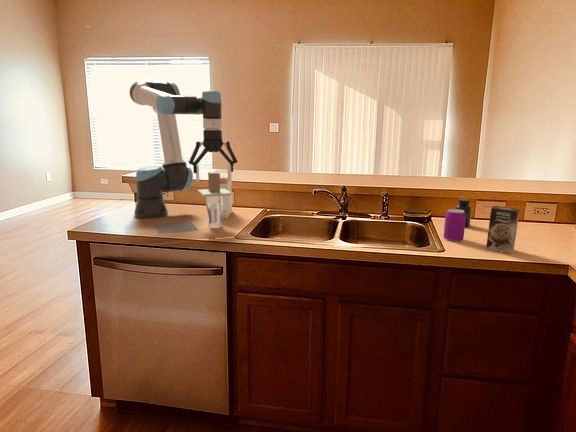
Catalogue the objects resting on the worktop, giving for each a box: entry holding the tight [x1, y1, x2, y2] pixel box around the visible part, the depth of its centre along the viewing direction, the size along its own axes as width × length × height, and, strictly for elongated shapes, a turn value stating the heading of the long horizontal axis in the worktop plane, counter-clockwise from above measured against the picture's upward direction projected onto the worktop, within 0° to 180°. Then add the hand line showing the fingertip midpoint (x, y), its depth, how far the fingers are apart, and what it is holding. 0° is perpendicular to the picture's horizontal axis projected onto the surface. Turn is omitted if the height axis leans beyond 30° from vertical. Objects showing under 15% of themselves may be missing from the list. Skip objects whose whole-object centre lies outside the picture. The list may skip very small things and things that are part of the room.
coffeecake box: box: [219, 172, 233, 219], centre depth 213 cm, size 15×7×20 cm, turn 178°
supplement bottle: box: [454, 198, 472, 228], centre depth 199 cm, size 7×7×12 cm
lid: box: [197, 171, 233, 198], centre depth 186 cm, size 12×12×9 cm
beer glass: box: [205, 196, 223, 229], centre depth 189 cm, size 7×7×15 cm
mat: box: [155, 221, 199, 235], centre depth 189 cm, size 16×16×1 cm
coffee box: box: [485, 205, 521, 254], centre depth 163 cm, size 9×6×16 cm
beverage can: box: [443, 208, 466, 242], centre depth 177 cm, size 8×8×12 cm
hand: (213, 180), depth 186 cm, fingers open, 13 cm apart
